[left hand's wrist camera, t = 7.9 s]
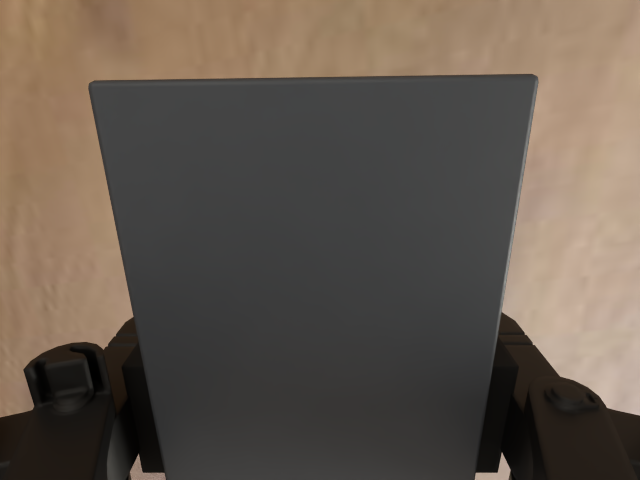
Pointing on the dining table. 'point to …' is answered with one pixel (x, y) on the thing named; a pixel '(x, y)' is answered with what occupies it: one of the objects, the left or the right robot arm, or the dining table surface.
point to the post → (316, 265)
